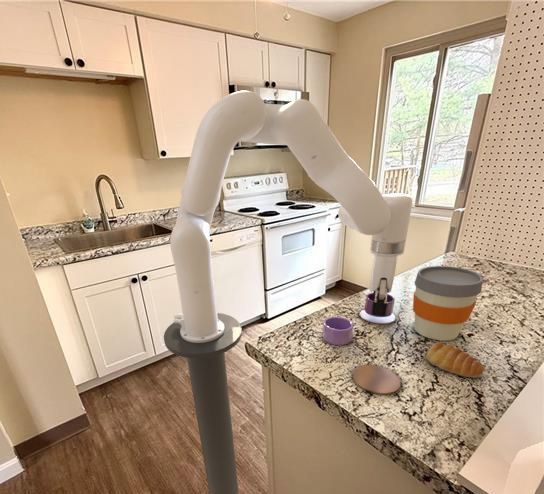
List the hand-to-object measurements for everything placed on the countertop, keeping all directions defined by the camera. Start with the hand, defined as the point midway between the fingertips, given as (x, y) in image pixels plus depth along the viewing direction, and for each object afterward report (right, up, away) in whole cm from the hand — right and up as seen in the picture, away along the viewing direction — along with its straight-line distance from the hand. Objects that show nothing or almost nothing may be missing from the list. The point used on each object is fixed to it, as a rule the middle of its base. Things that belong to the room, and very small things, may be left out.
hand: (378, 308), depth 85 cm
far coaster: (0, -2, +1) cm, 3 cm away
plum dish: (0, -1, 0) cm, 1 cm away
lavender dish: (-14, -7, -6) cm, 17 cm away
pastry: (+5, -12, -19) cm, 23 cm away
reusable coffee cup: (+10, -6, -8) cm, 14 cm away
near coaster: (-12, -14, -21) cm, 28 cm away
